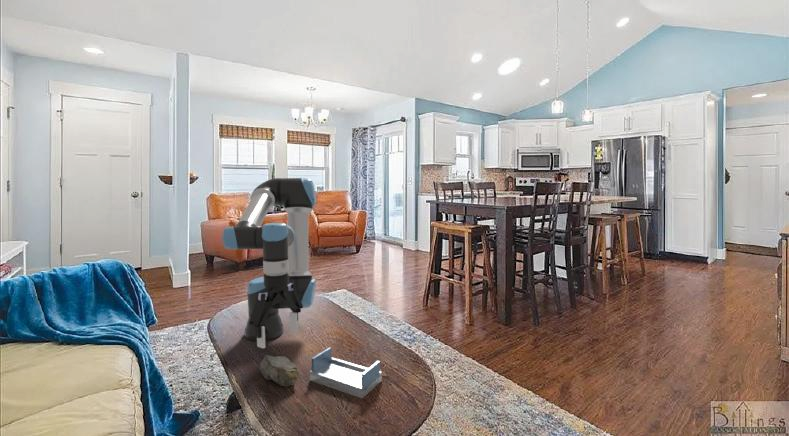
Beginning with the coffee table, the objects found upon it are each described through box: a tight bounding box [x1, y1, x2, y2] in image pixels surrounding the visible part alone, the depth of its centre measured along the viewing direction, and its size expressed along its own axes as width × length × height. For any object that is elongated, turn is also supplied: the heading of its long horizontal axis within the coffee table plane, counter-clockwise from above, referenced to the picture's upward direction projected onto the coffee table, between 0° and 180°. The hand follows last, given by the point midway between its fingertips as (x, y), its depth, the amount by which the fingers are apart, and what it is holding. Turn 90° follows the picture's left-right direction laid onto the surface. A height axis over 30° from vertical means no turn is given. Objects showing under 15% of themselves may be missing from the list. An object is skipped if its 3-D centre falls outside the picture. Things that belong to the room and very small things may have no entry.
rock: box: [259, 354, 300, 388], centre depth 123 cm, size 17×7×10 cm
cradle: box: [309, 346, 383, 399], centre depth 122 cm, size 20×11×7 cm, turn 61°
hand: (278, 339), depth 121 cm, fingers open, 13 cm apart
